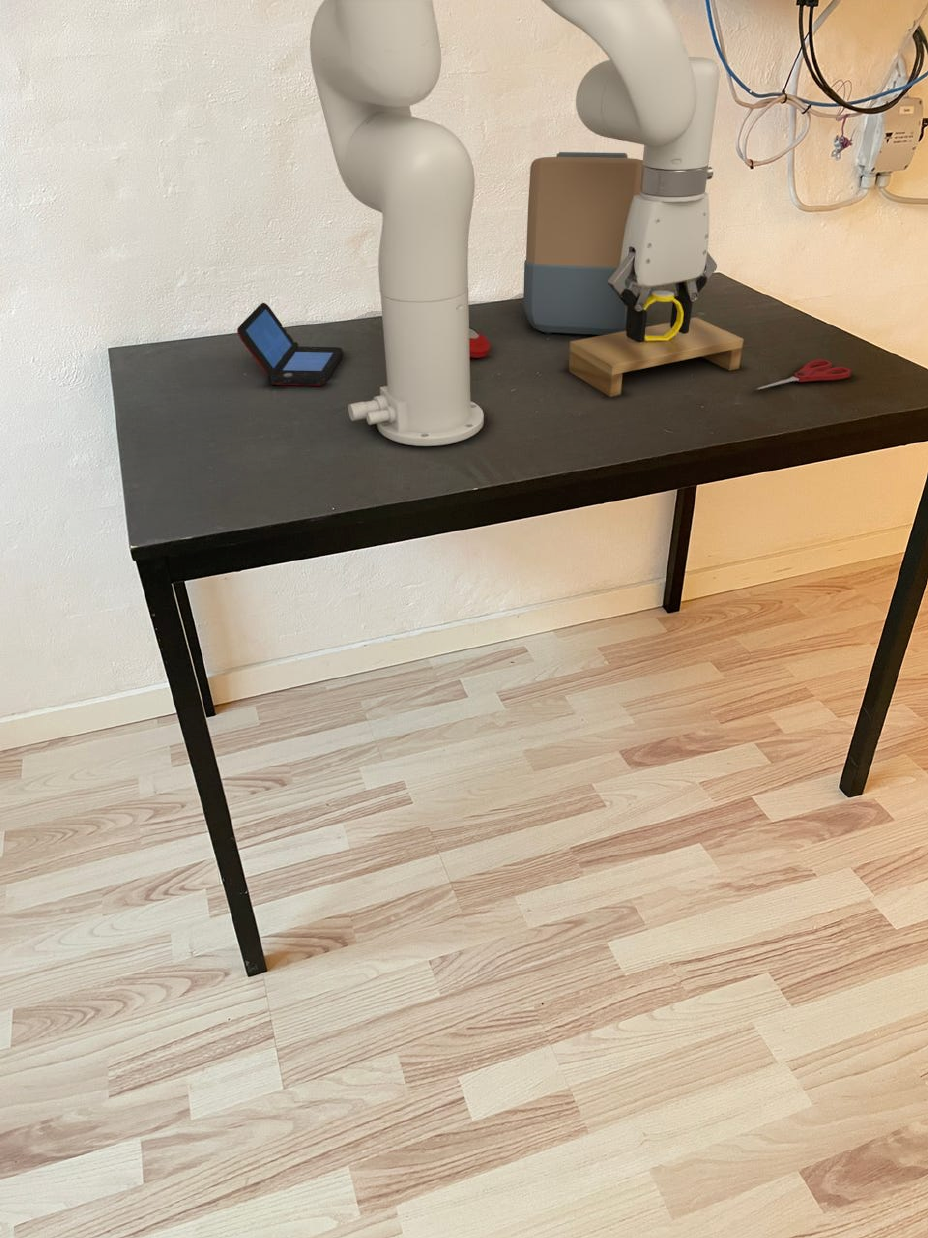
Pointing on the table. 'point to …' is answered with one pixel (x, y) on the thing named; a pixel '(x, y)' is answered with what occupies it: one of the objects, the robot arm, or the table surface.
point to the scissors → (816, 373)
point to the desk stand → (649, 353)
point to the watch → (669, 296)
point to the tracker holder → (477, 344)
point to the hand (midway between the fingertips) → (657, 333)
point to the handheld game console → (285, 351)
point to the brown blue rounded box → (577, 241)
